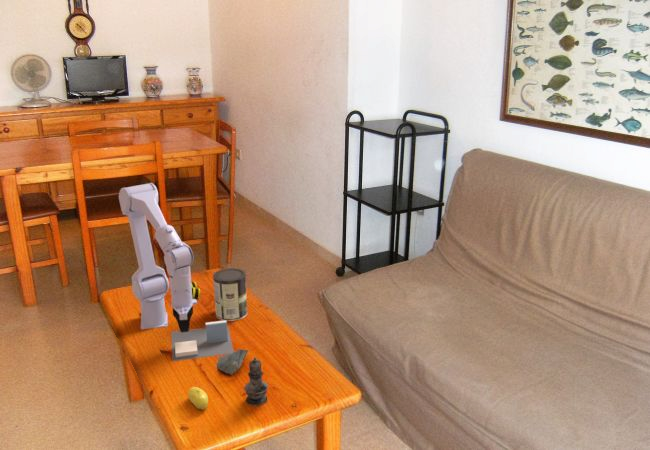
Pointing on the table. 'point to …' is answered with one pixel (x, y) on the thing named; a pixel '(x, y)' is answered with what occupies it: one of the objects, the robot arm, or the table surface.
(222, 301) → the coffee can
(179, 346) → the tile
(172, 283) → the robot arm
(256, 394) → the dark chess piece
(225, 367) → the stone
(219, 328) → the tile
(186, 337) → the mat
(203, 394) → the lemon
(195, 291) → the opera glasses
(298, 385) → the table surface
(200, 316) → the table surface
